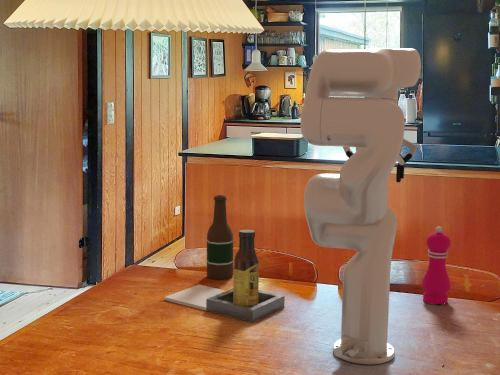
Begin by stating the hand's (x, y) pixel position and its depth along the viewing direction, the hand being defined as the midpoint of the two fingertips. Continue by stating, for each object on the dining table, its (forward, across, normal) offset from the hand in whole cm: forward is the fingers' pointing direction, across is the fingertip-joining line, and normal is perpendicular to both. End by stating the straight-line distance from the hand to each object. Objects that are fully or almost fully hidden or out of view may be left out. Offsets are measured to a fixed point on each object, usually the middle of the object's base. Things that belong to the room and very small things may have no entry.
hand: (377, 180), depth 153 cm
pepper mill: (+34, +13, +20) cm, 41 cm away
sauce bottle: (+34, -31, -5) cm, 46 cm away
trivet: (+34, -44, -2) cm, 56 cm away
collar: (+34, -31, -5) cm, 46 cm away
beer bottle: (+34, -48, +19) cm, 62 cm away
